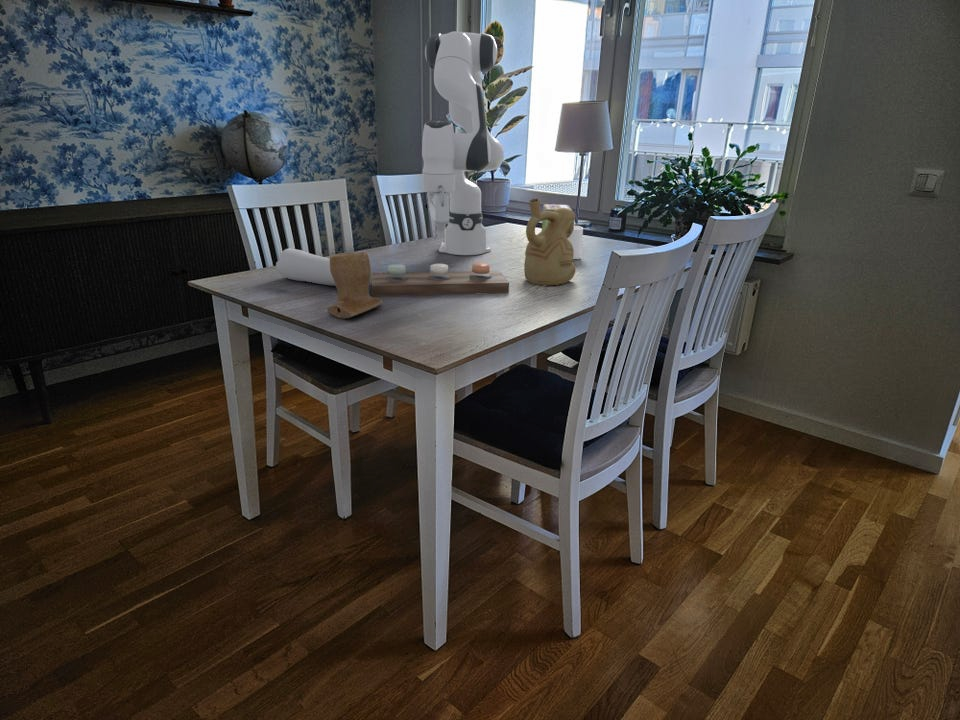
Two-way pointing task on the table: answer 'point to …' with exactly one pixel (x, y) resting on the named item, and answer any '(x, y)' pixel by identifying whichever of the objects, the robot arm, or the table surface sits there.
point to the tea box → (552, 208)
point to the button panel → (438, 283)
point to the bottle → (305, 267)
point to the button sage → (396, 269)
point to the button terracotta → (480, 268)
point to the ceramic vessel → (549, 246)
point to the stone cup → (351, 284)
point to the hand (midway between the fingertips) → (439, 235)
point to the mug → (576, 241)
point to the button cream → (439, 269)
